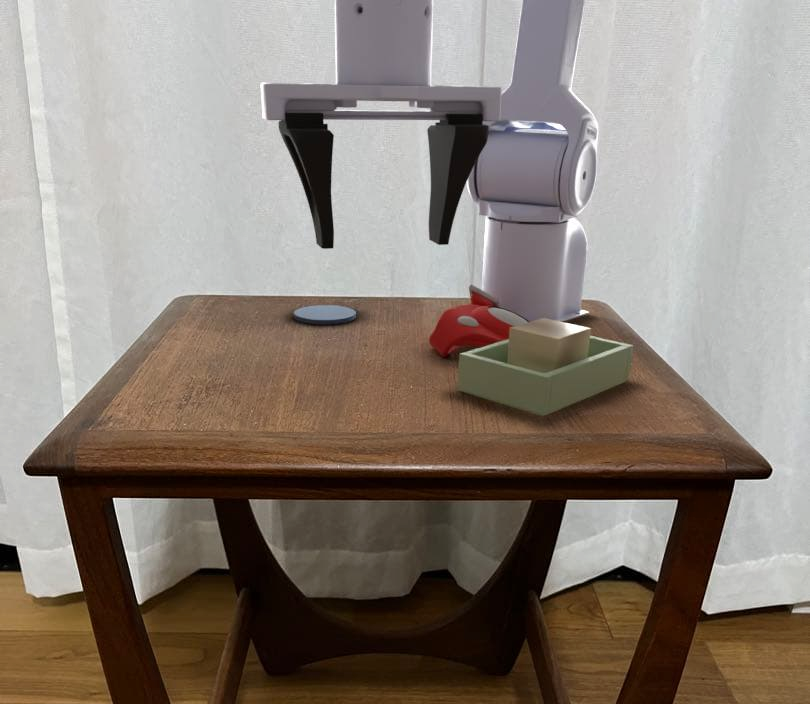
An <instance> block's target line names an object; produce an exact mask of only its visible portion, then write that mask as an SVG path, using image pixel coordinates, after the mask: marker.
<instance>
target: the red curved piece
mask: <svg viewBox="0 0 810 704" xmlns="http://www.w3.org/2000/svg"><path fill="white" fill-rule="evenodd" d="M468 291H469V297H470V303H469V304H461V305H456V306H453V307H449V308H448V309H446V310H444V312H442V314H441V316H440V318H439V319H438V320H437V324H436V325H435V328H434V330H433V331H432V333H431V334H430V336H429V340H428V343H429V345H430V346H431V347H432V348H433V349H434V350H435V351H436V352H437V353H439V355H441V356H442V357H444V358H445V357H448V356H450V355H451V354H452V353H453V352H455V351H456V350H458V349H460V348H461V347H463V346H465V347H466V346H473V347H478V348H481V347H484V346H487V345H491V344H494V343H497V342H501V341H504V340H507V339H509V331H510V328H511V327H514V326H517V325H521V324H524V323H528V322H529V321H528V320H527V319H525V318H524V317H522V316H520V315H518V314H516V313H514V312H512V311H509V310H507V309H504V308H500V306H499V300H498V299H497V298H495V297H493V296H491V295H490V294H488V293H486V292H484V291H482V288H481V289H480V288H479V287H477V286H475V285H474V284H469V286H468Z"/></svg>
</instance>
